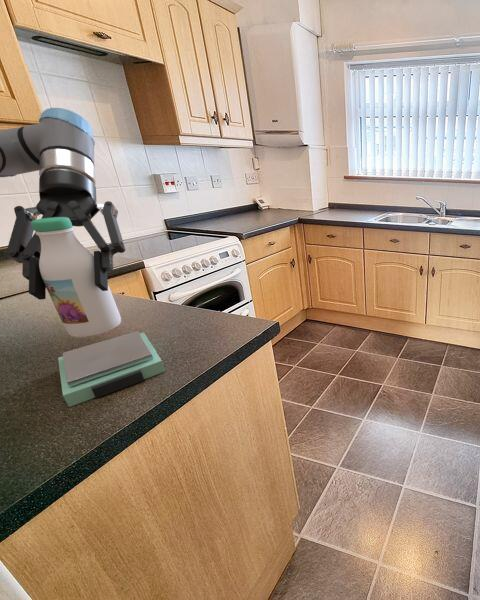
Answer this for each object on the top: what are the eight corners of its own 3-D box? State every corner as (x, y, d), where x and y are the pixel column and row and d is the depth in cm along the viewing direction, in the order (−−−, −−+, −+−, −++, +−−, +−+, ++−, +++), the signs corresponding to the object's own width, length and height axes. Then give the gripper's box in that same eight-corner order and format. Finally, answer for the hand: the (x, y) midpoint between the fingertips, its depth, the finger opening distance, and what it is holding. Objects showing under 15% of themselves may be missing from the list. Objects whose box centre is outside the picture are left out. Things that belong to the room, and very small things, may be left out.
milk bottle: (114, 315, 67) (73, 213, 59) (129, 325, 63) (87, 217, 55) (63, 330, 61) (10, 220, 53) (75, 343, 57) (21, 225, 49)
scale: (63, 368, 67) (57, 357, 66) (147, 341, 76) (143, 332, 75) (69, 409, 56) (63, 397, 55) (166, 373, 65) (162, 362, 64)
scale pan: (64, 357, 65) (62, 352, 65) (139, 334, 73) (137, 330, 72) (69, 387, 57) (67, 382, 56) (153, 358, 64) (151, 354, 64)
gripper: (142, 192, 70) (151, 290, 63) (8, 198, 62) (3, 311, 55) (127, 166, 63) (136, 272, 57) (-24, 169, 55) (-35, 293, 49)
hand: (70, 291), depth 56 cm, fingers closed on milk bottle, 8 cm apart
